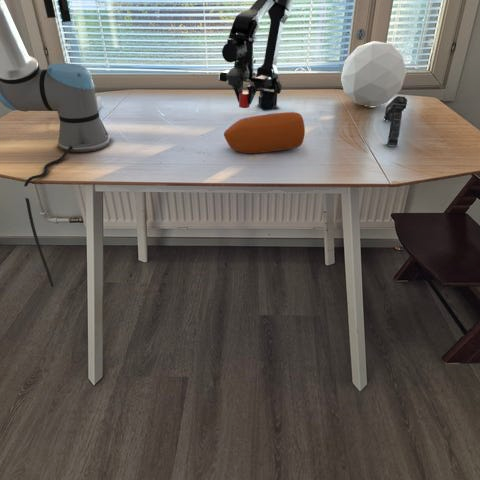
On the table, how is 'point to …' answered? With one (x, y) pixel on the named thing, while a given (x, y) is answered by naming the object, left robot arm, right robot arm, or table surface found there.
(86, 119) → the left robot arm
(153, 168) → the table surface
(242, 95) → the can
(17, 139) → the table surface
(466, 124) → the table surface
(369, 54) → the decorative sphere
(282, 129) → the orange tapered rounded cylinder
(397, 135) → the futuristic handgun
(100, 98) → the charger
